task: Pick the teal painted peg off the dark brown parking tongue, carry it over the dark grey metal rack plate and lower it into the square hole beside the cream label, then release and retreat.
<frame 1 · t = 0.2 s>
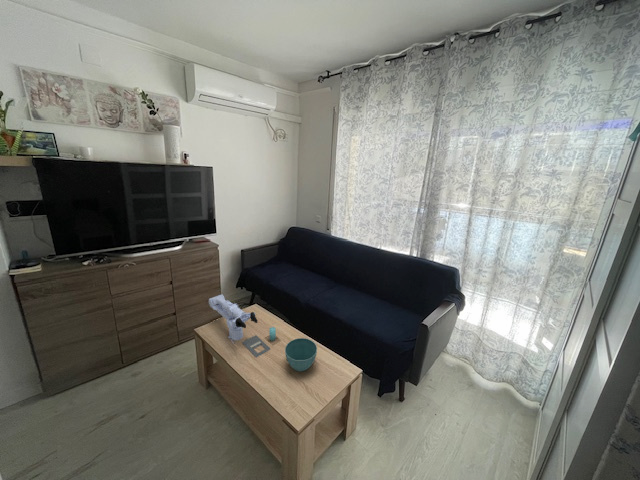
hand: (251, 323, 146), 21 cm above the table, tool horizontal, fingers open, 7 cm apart
peg: (272, 339, 163), point 1 cm above the table, touching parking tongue
teal bowl: (300, 366, 144), on the table
rack plate: (256, 348, 157), on the table
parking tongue: (272, 341, 163), on the table
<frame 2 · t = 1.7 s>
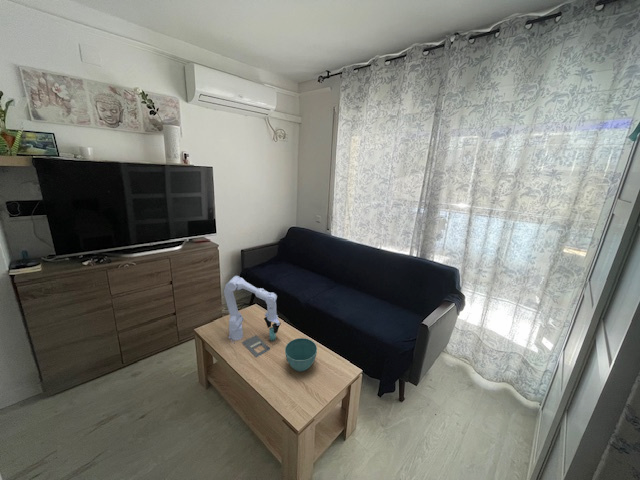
hand: (272, 329, 161), 9 cm above the table, tool pointing down, fingers open, 7 cm apart
nothing on the table moved.
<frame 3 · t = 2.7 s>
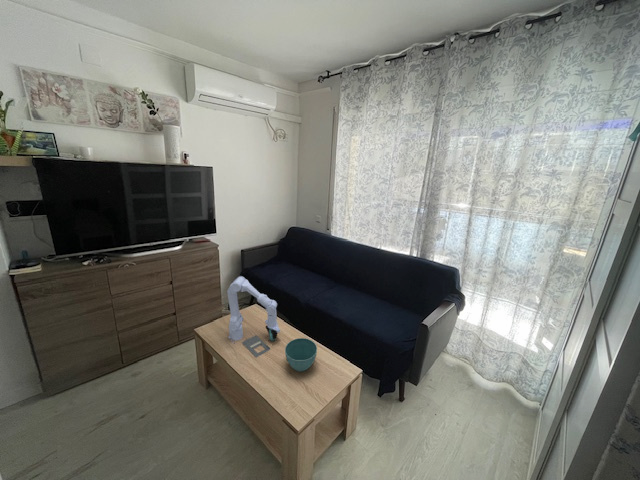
hand: (272, 336, 162), 4 cm above the table, tool pointing down, fingers closed on peg, 4 cm apart
peg: (272, 339, 163), point 1 cm above the table, touching gripper, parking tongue
everything else where it was.
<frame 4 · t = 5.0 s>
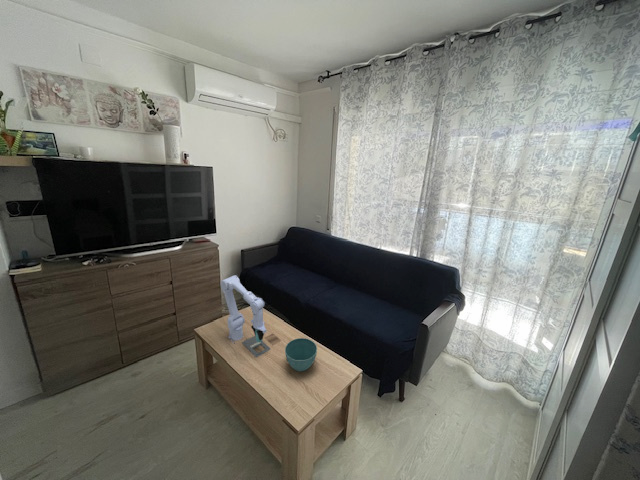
hand: (259, 337, 151), 10 cm above the table, tool pointing down, fingers closed on peg, 4 cm apart
peg: (259, 340, 152), point 8 cm above the table, touching gripper
everything else where it was.
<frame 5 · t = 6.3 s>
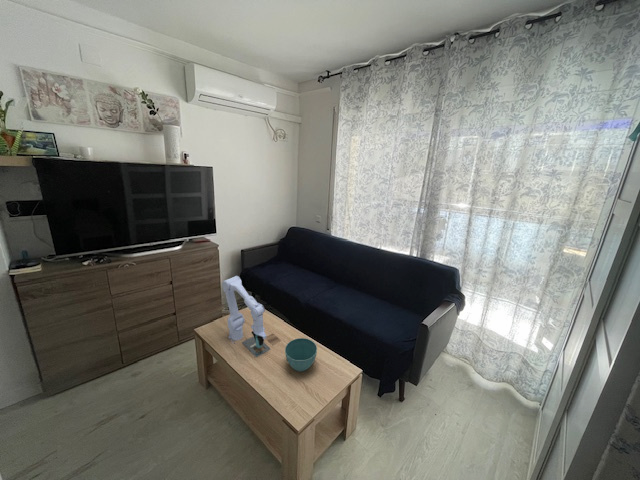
hand: (259, 343, 152), 6 cm above the table, tool pointing down, fingers closed on peg, 4 cm apart
peg: (259, 345, 153), point 4 cm above the table, touching gripper
everything else where it was.
when the fingers open (3 cm above the table, at t = 7.5 s): peg drops 1 cm, resting in rack plate.
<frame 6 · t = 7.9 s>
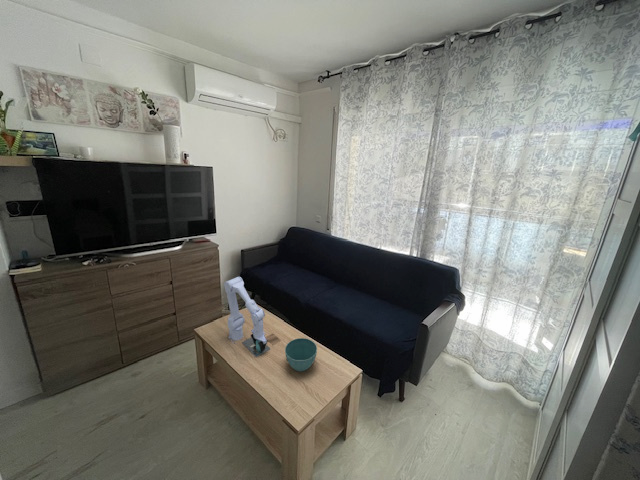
hand: (259, 347, 153), 3 cm above the table, tool pointing down, fingers open, 7 cm apart
peg: (259, 351, 154), resting in rack plate
everything else where it was.
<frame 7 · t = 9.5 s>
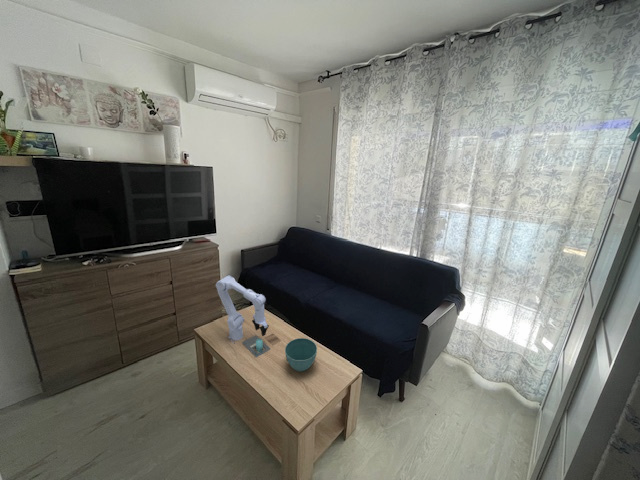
hand: (260, 332, 157), 9 cm above the table, tool pointing down, fingers open, 7 cm apart
nothing on the table moved.
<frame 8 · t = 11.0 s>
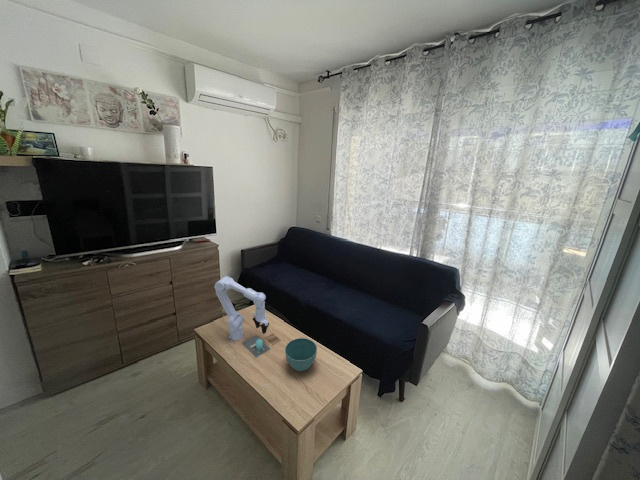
hand: (261, 330, 159), 9 cm above the table, tool pointing down, fingers open, 7 cm apart
nothing on the table moved.
at the end: peg 0.0 cm from the target spot on the rack plate, point 0.0 cm above the rack plate's base; peg tilted 0°; the gripper is holding nothing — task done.
